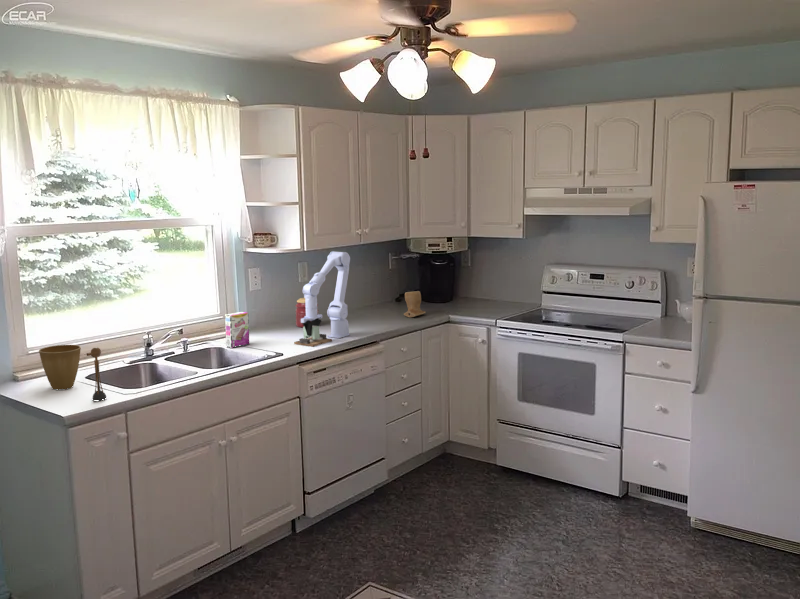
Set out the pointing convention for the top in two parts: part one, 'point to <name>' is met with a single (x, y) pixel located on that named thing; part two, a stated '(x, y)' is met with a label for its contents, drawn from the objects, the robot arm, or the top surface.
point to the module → (314, 334)
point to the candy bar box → (237, 329)
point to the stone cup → (413, 304)
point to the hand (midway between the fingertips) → (312, 334)
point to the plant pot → (60, 364)
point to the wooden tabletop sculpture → (97, 374)
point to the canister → (301, 311)
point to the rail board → (313, 341)
